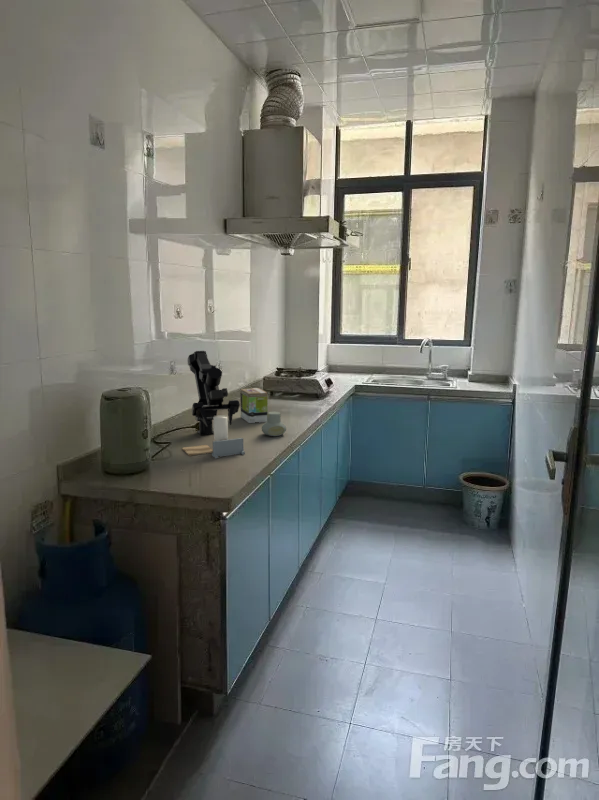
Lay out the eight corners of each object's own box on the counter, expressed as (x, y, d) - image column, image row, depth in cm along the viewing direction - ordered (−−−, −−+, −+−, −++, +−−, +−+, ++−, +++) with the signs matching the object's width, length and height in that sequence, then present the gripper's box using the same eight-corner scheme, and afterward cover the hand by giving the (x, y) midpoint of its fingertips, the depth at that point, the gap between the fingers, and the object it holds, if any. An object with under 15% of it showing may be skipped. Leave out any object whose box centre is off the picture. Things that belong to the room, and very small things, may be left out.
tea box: (268, 422, 260) (268, 392, 257) (248, 423, 257) (248, 393, 254) (259, 415, 274) (258, 387, 271) (240, 417, 270) (239, 388, 267)
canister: (212, 450, 213) (211, 416, 210) (225, 448, 215) (224, 414, 213) (217, 454, 208) (216, 419, 205) (230, 452, 210) (229, 417, 208)
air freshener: (263, 438, 231) (263, 415, 229) (260, 433, 239) (259, 411, 237) (288, 436, 234) (288, 414, 232) (283, 431, 242) (283, 410, 240)
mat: (182, 449, 215) (182, 447, 215) (206, 446, 219) (206, 444, 219) (189, 455, 206) (189, 454, 206) (214, 452, 210) (214, 451, 210)
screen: (211, 455, 206) (211, 440, 205) (241, 451, 212) (241, 436, 210) (215, 458, 203) (214, 443, 202) (244, 454, 208) (244, 439, 207)
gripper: (191, 382, 210) (197, 416, 202) (238, 380, 217) (245, 412, 209) (189, 399, 219) (194, 431, 211) (233, 396, 226) (241, 427, 218)
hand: (219, 425), depth 212 cm, fingers open, 9 cm apart
